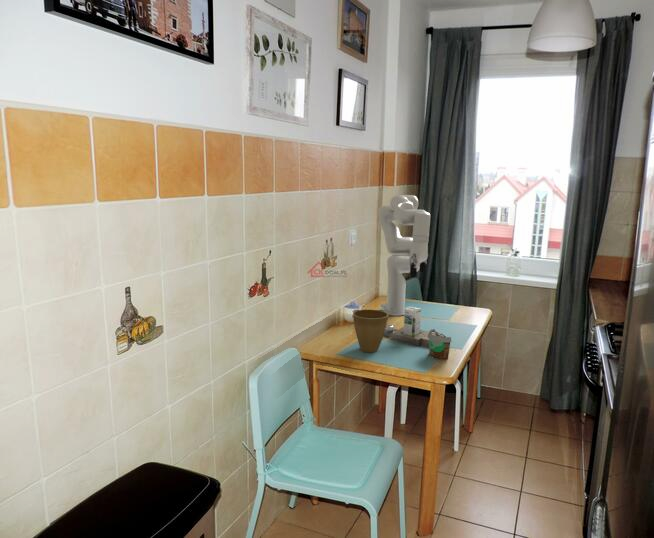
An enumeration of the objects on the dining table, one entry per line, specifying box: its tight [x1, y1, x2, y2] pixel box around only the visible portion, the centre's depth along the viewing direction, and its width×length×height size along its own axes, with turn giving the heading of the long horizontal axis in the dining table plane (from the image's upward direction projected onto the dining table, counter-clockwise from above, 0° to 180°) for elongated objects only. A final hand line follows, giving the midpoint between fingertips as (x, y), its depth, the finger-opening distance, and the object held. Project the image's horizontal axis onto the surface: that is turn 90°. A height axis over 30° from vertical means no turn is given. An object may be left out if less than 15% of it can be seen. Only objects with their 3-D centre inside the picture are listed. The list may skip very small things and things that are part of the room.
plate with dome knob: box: [383, 324, 421, 347], centre depth 239 cm, size 21×14×4 cm, turn 55°
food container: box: [427, 328, 452, 361], centre depth 215 cm, size 12×6×10 cm, turn 23°
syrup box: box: [403, 306, 422, 336], centre depth 237 cm, size 6×6×14 cm
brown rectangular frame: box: [391, 326, 430, 347], centre depth 235 cm, size 21×14×4 cm, turn 55°
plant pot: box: [352, 308, 389, 353], centre depth 221 cm, size 15×15×16 cm
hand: (417, 273), depth 247 cm, fingers open, 9 cm apart
